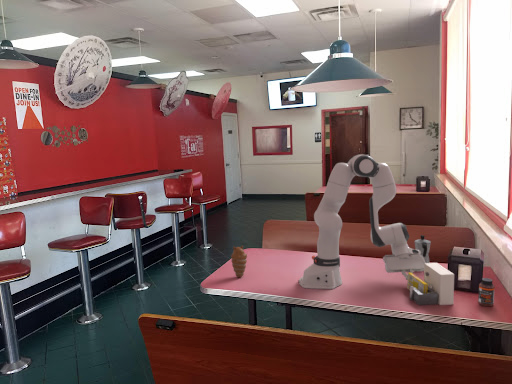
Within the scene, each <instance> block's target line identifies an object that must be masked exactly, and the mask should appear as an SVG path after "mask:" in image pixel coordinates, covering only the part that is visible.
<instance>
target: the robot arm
mask: <svg viewBox="0 0 512 384" xmlns="http://www.w3.org/2000/svg"><path fill="white" fill-rule="evenodd" d="M357 176H358V177H362V178H369V179H370V182H371V185H372V186H371V187H372V189H373V190H372V192H373V193H372V196H371V197H370V198H369V202H368V205H369V222H370V241H371V243H372V244H373V245H374V246H375V247H378V248H383V247H385V246H388V245H390V247H391V252H392V254H385V255H384V256H382V261H383V263H384V269H385V272H386V273H388V274H389V273H391V274H392V273H401V275H403V277H404V278H405V280H406V281H408V273H409V272H411V273H412V274H414V273H415V272H424V263H426V262H425V260H424V258H423V256H421V255H420V254H421V252H420V251H419V250H416V249H414V248H411V247H409V244H408V242H409V241H408V240H409V238H410V234H409V232H408V227H407V225H406V224H404V223H402V222H397V223H395V222H394V223H392V224H387V225H384V226H380V223H379V213H378V212H379V210H380V209H382V207H383V206H384V205H386V204H388V203H390V202H391V201H392V200H393V199H394V198H395V196H396V194H397V186H396V181H395V178H394V176H393V172H392V170H391V168H390V166H389V164H387V163H385V162H379V163H378V162H377V161H376V160H375V159H374V158H373V156H372V157H371V156H370V155H368V154H363V153H362V154H356V155H353V156H352V157H351V158H349V159H348V160H347V161H346V162H337V163H336V164H335V165H334V166H333V169H332V170H331V172H330V175H329V177H328V181H327V184H326V187H325V190H324V193H323V196H322V199H321V200H320V203H319V205H318V206H317V209H316V210H315V212H314V213H313V220H314V222H315V224H316V225H317V227H318V236H317V237H318V238H317V242H316V248H317V249H316V251H317V252H316V253H317V255H316V256H315V255H313V254H312V256H311V259H312V261H313V263H312V264H311V265H309V266H308V267H306V268H305V269H304V271H303V275H302V276H301V277H300V278H299V279H298V284H299V285H300V287H302V288H304V289H314V290H315V289H318V290H319V289H321V290H326V289H327V290H333V289H336V287H337V288H338V287H339V286H341V285H342V284H343V280H342V276H341V271H340V267H341V257H340V249H339V248H340V247H339V244H340V235H341V232H342V231H341V230H342V229H343V220H342V218H341V216H340V214H338V213H339V212H340V209H341V207H342V206H343V205H344V204H345V203H346V199H347V196H348V193H349V190H350V186H351V183H352V180H353V179H354V178H355V177H357Z"/></svg>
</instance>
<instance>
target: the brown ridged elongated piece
mask: <svg viewBox="0 0 512 384" xmlns="http://www.w3.org/2000/svg"><path fill="white" fill-rule="evenodd" d="M247 257H248V255H247V253H246V252H245V250H244V246H243V245H241V246H233V251H232V253H231V257H230V258H231V263H232V268H233V272H234V273H235V277H237V278H242V277H243V276H244V275H245V271H246V268H247V262H248V261H247V259H248V258H247Z"/></svg>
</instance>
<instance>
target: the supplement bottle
mask: <svg viewBox="0 0 512 384" xmlns="http://www.w3.org/2000/svg"><path fill="white" fill-rule="evenodd" d="M495 289H496V288H495V285H494V284H493V279H492V278H489V277H484V278H483V277H482V278H481V282H480V283H479V284H478V296H477V297H478V300H477V302H478V304H479V305H481V306H483V307H493V306H494V304H495Z"/></svg>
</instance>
